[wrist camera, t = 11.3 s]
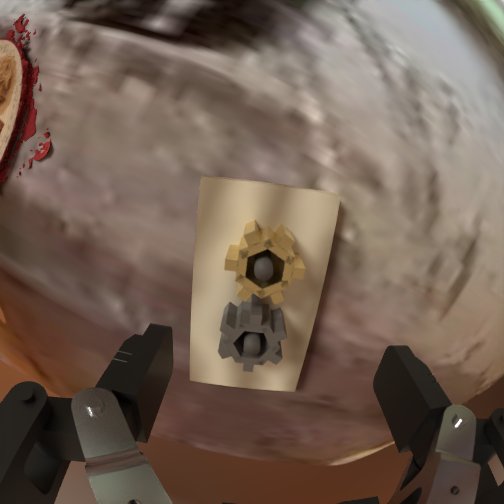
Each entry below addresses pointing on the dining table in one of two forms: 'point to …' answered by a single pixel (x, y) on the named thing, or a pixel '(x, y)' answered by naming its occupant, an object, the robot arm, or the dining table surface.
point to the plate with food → (16, 97)
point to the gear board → (255, 309)
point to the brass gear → (282, 272)
